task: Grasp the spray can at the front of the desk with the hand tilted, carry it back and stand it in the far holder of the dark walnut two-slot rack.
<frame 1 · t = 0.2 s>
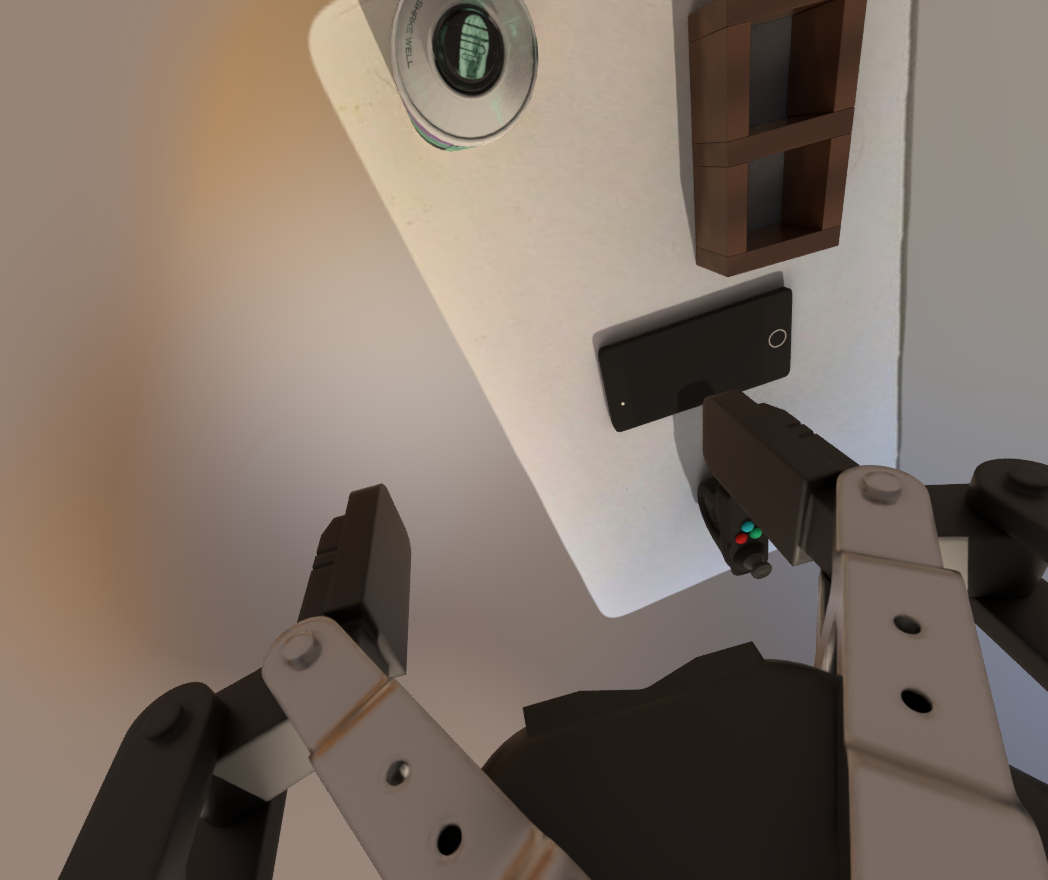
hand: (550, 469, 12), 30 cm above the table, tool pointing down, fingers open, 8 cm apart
spray can: (448, 104, 32), on the table
cell phone: (694, 359, 45), on the table
controller: (707, 486, 54), on the table
rack: (748, 139, 37), on the table
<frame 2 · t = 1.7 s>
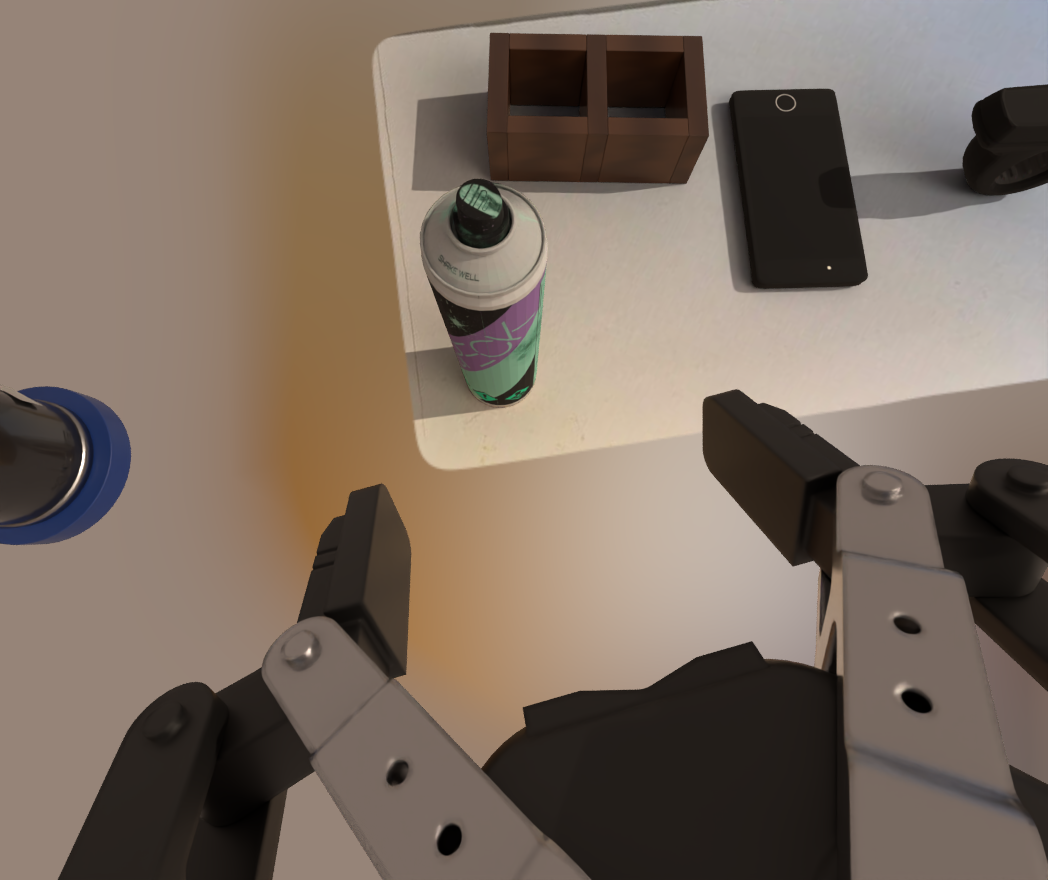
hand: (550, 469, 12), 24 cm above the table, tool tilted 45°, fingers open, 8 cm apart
spray can: (501, 374, 37), on the table
cell phone: (790, 191, 40), on the table
controller: (976, 184, 41), on the table
rack: (588, 136, 41), on the table
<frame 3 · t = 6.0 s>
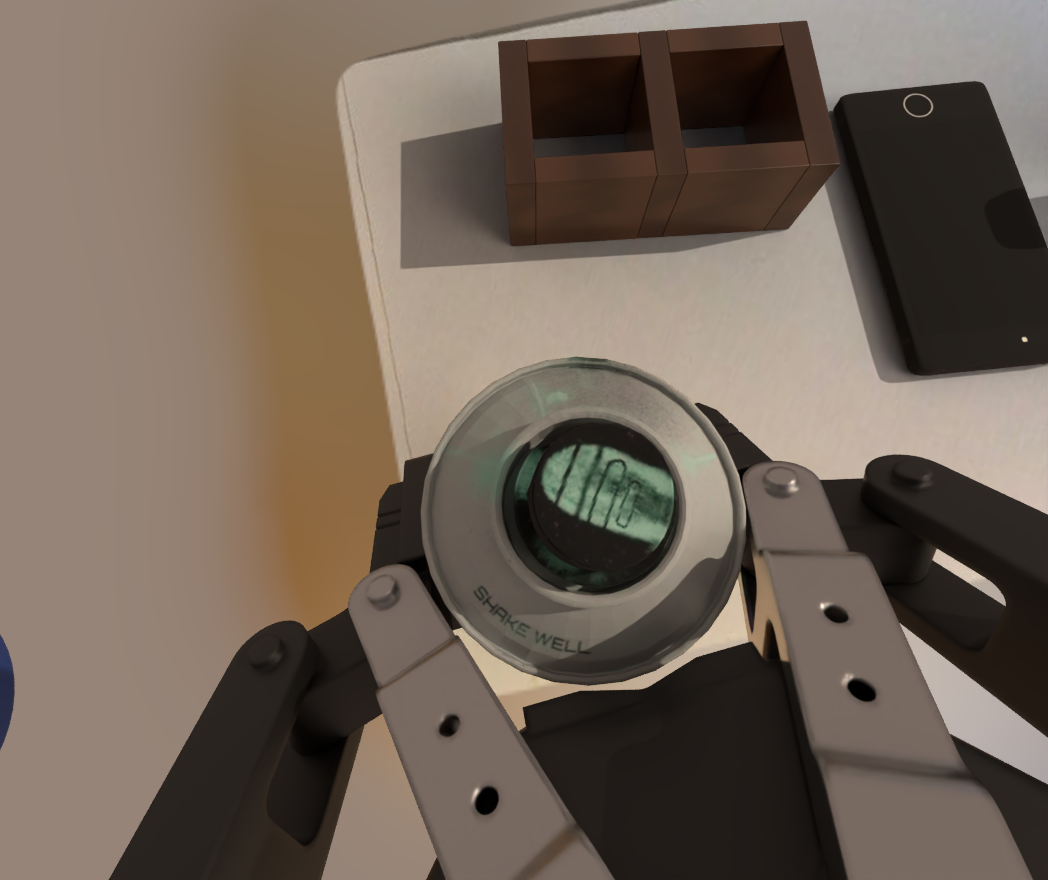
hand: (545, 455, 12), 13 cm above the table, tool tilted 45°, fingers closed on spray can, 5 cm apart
spray can: (549, 535, 25), on the table, touching gripper
cell phone: (938, 227, 28), on the table
rack: (641, 173, 30), on the table
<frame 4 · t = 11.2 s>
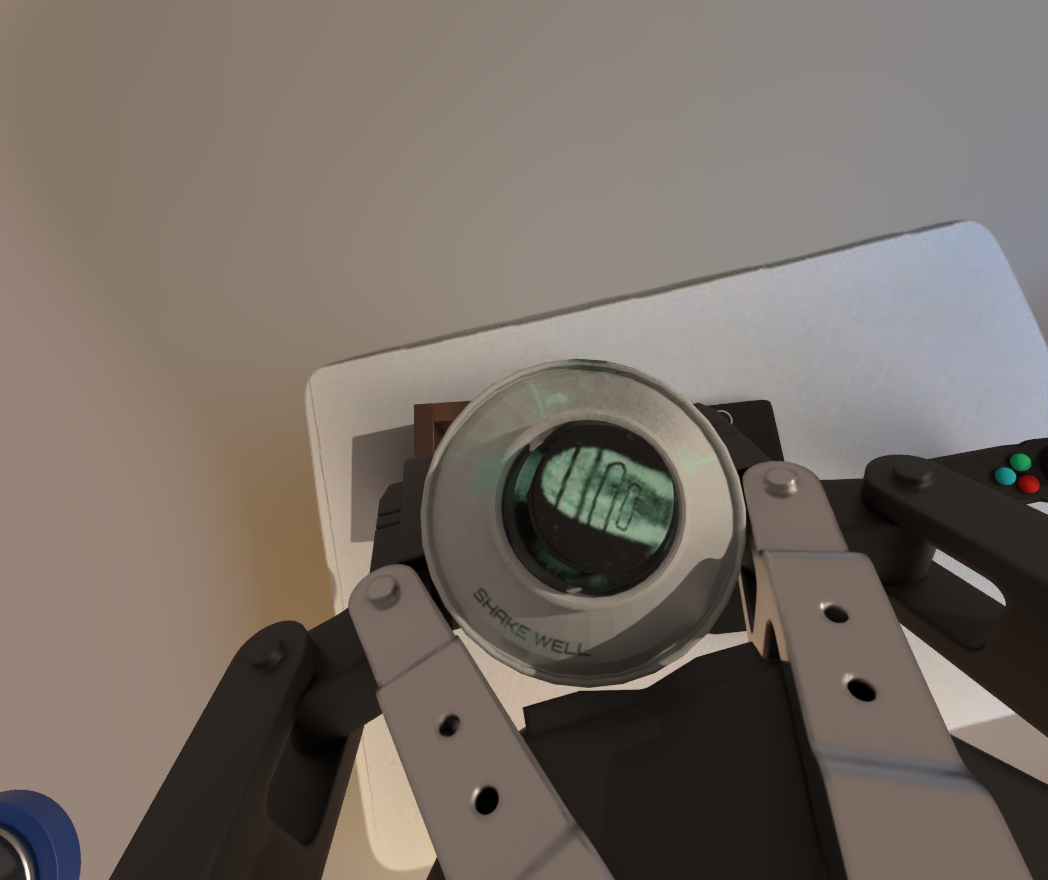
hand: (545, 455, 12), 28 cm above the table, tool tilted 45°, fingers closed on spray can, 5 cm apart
spray can: (550, 535, 25), point 15 cm above the table, touching gripper
cell phone: (734, 512, 40), on the table
controller: (924, 487, 40), on the table
rack: (525, 465, 41), on the table
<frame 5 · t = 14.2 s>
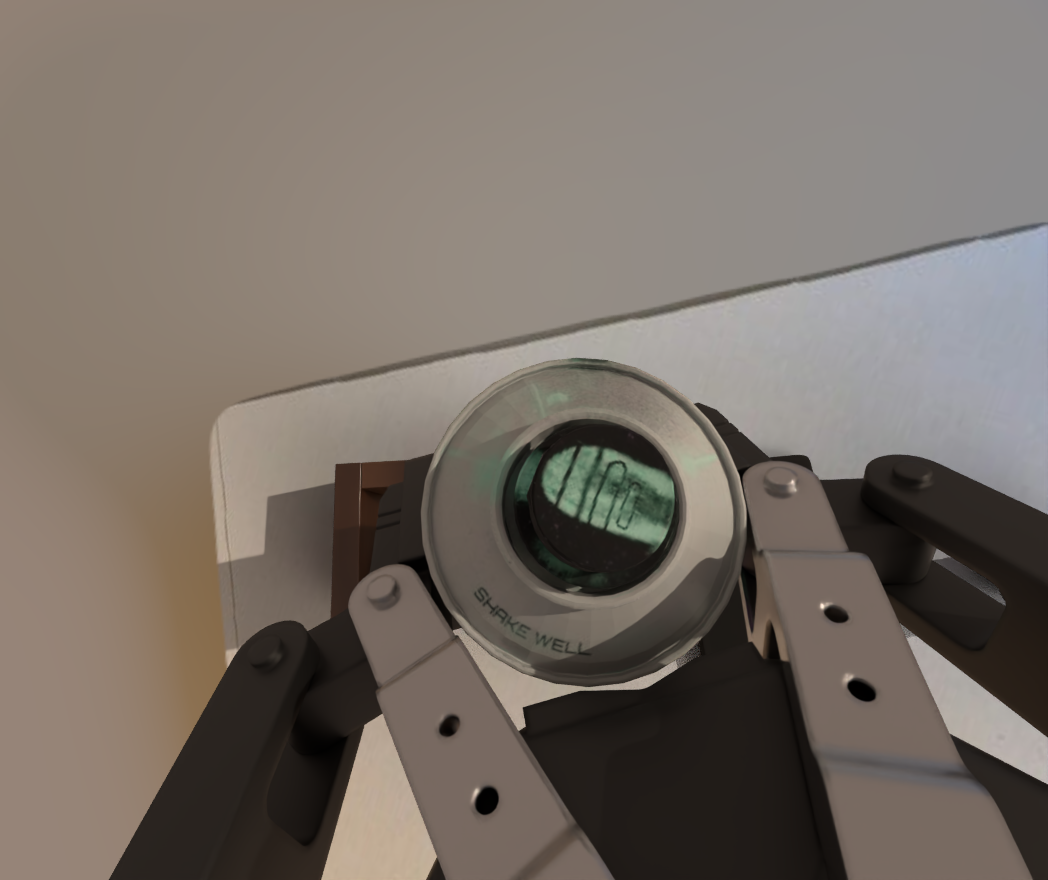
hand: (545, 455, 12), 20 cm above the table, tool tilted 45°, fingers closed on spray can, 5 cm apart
spray can: (550, 535, 25), point 6 cm above the table, touching gripper
cell phone: (761, 603, 30), on the table
rack: (489, 537, 31), on the table
when the fingers open (13 cm above the table, at t = 16.6 s): spray can stays where it is, resting in rack.
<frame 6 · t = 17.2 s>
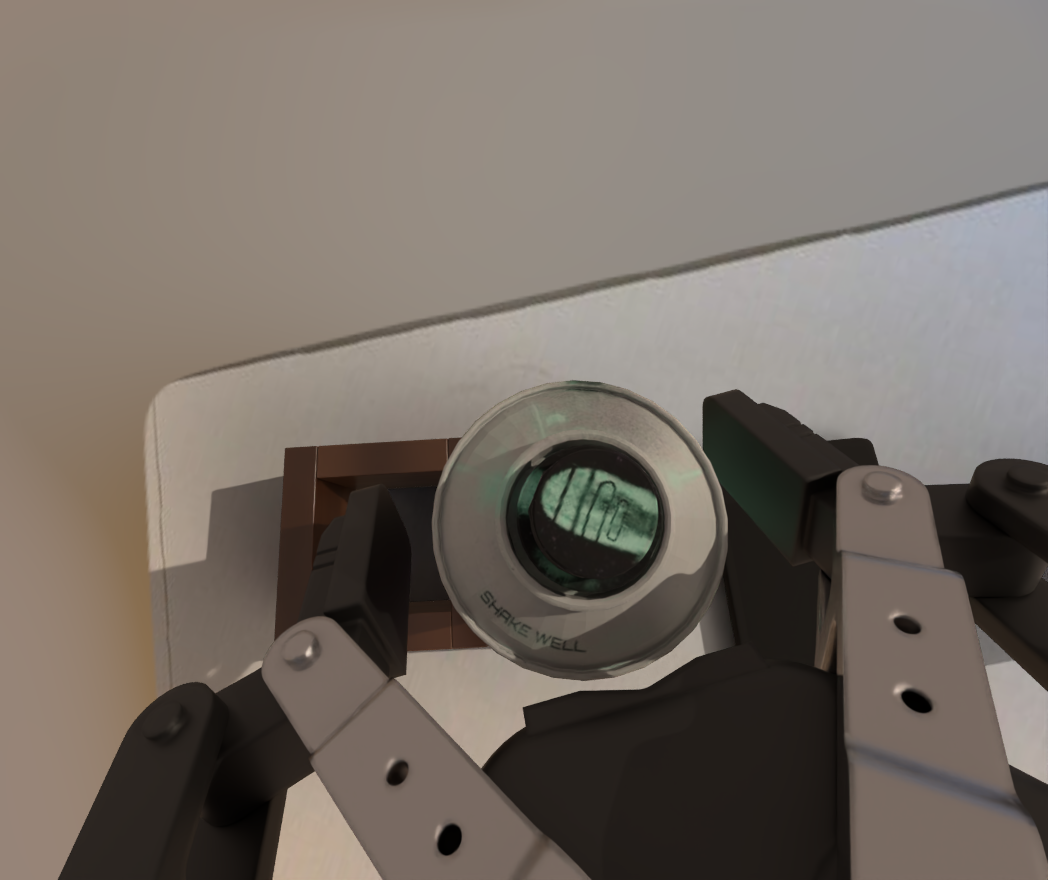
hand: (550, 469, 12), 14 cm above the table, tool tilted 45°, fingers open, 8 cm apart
spray can: (550, 537, 26), resting in rack
cell phone: (815, 620, 25), on the table
rack: (480, 539, 26), on the table
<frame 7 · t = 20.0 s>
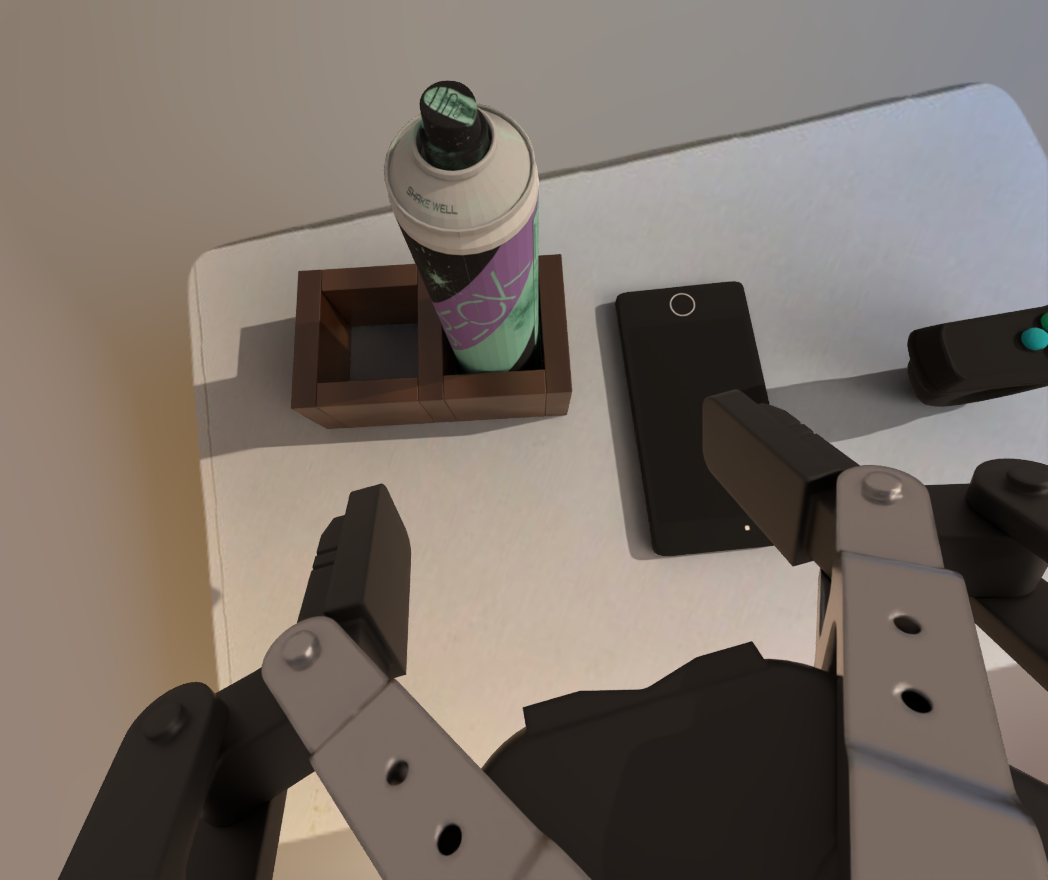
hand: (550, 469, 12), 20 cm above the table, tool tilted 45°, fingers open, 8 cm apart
spray can: (499, 359, 34), resting in rack
cell phone: (696, 414, 33), on the table
controller: (929, 387, 33), on the table
rack: (445, 360, 34), on the table
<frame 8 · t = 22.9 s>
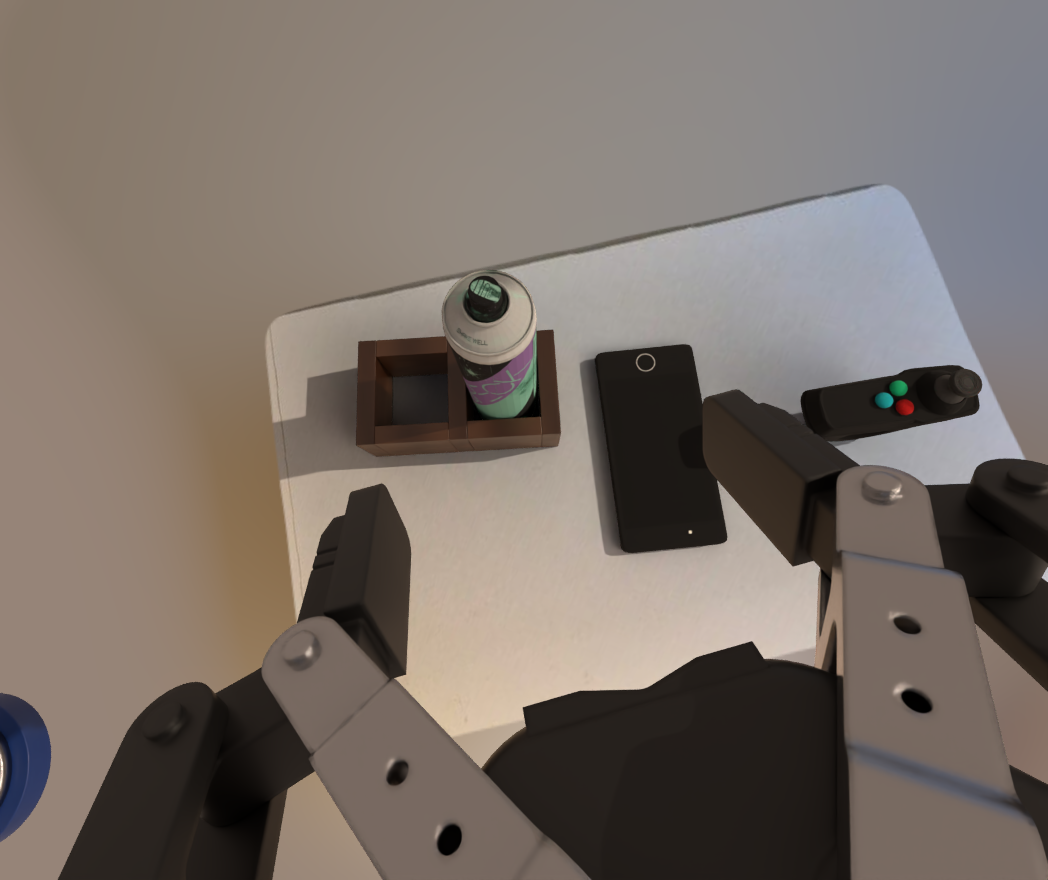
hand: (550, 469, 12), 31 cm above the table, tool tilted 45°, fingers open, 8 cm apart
spray can: (506, 403, 44), resting in rack
cell phone: (655, 446, 43), on the table
controller: (831, 425, 43), on the table
rack: (465, 403, 44), on the table
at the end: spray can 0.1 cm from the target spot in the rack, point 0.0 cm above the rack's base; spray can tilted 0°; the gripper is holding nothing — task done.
